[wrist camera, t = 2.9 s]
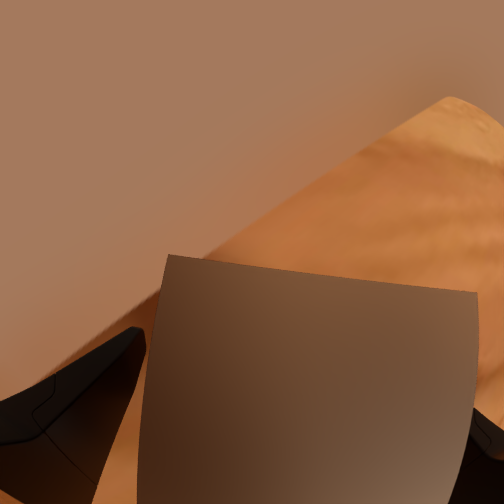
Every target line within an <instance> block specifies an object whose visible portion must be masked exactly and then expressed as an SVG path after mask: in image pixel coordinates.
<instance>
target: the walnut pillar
mask: <svg viewBox="0 0 504 504" xmlns="http://www.w3.org/2000/svg"><path fill="white" fill-rule="evenodd" d="M478 349H479V318H478V298H477V292H467V291H457V290H448V289H438V288H429V287H420V286H411V285H402V284H393V283H384V282H376V281H367V280H359V279H350V278H342V277H334V276H326V275H318V274H310V273H302V272H294V271H286V270H279V269H271V268H263V267H256V266H248V265H241V264H234V263H226V262H219V261H212V260H205V259H198V258H190V257H183V256H176V255H170V254H169V255H168V258H167V263H166V267H165V271H164V276H163V281H162V285H161V290H160V295H159V300H158V305H157V310H156V316H155V321H154V327H153V332H152V338H151V344H150V351H149V357H148V364H147V371H146V379H145V387H144V395H143V404H142V413H141V424H140V436H139V451H138V471H137V504H448V501H449V499H450V496H451V493H452V491H453V488H454V485H455V482H456V479H457V476H458V473H459V469H460V466H461V462H462V459H463V455H464V451H465V447H466V443H467V438H468V434H469V429H470V424H471V418H472V412H473V406H474V399H475V390H476V381H477V369H478Z"/></svg>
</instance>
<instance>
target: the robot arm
mask: <svg viewBox="0 0 504 504" xmlns="http://www.w3.org/2000/svg"><path fill="white" fill-rule="evenodd" d="M145 354H146V341H145V334H144V330H143V329H142V328H138V327H130V328H128V329H126V330H125V331H123V332H122V333H120V334H118V335H117V336H115V337H113V338H112V339H110V340H108V341H107V342H105V343H104V344H102V345H100V346H99V347H97V348H95V349H94V350H92V351H90V352H89V353H87V354H86V355H84V356H82V357H81V358H79V359H77V360H76V361H74V362H72V363H71V364H69V365H68V366H66V367H64V368H63V369H61V370H59V371H58V372H56V374H53V375H51V376H49V377H48V378H46V379H44V380H43V381H41V382H39V383H37V384H36V385H34V386H32V387H30V388H28V389H26V390H24V391H22V392H20V393H17V394H15V395H13V396H11V397H9V398H7V399H5V400H2V401H0V504H92V501H93V498H94V495H95V492H96V489H97V485H98V483H99V480H100V477H101V474H102V471H103V469H104V466H105V463H106V461H107V458H108V455H109V453H110V450H111V447H112V445H113V442H114V440H115V437H116V434H117V432H118V429H119V427H120V424H121V422H122V419H123V417H124V414H125V412H126V410H127V407H128V405H129V402H130V400H131V398H132V395H133V393H134V390H135V387H136V384H137V380H138V377H139V374H140V370H141V367H142V363H143V360H144V357H145ZM448 504H504V430H502V429H501V428H499V427H498V426H497V425H495V424H494V423H493V422H491V421H490V420H489V419H487V418H486V417H485V416H484V415H483V414H481V413H480V412H479V411H478V410H477V409H475V408H473V412H472V418H471V424H470V429H469V434H468V438H467V443H466V447H465V451H464V455H463V459H462V462H461V466H460V469H459V473H458V476H457V479H456V482H455V485H454V488H453V491H452V493H451V496H450V499H449V501H448Z"/></svg>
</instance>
